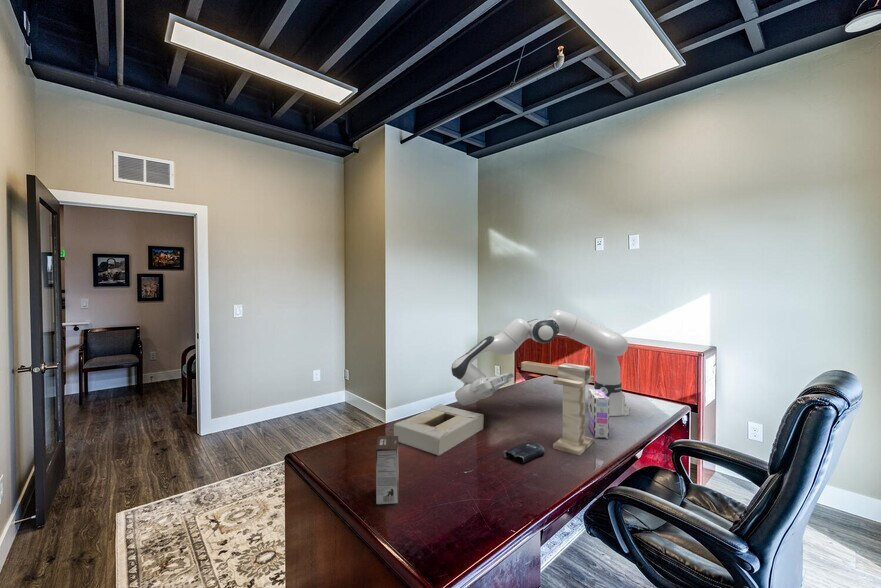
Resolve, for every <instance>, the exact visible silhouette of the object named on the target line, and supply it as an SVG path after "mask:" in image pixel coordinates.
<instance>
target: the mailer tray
mask: <svg viewBox="0 0 881 588" xmlns="http://www.w3.org/2000/svg"><path fill="white" fill-rule="evenodd" d="M558 366H559V365H554V364H549V363H548V364H547V363H542V362H541V363H540V362H534V361H526V360H525V361H521V362H520V371H526V372H532V373H537V374H543V375H551V376H557V377H558Z"/></svg>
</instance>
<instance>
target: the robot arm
mask: <svg viewBox="0 0 881 588" xmlns="http://www.w3.org/2000/svg"><path fill="white" fill-rule="evenodd" d="M558 334H561V335H562V336H565V337H567V338H569V339H571V340H572V339H573V340H574V341H576V342H578V343H581V344H583V345H586V346H587V347H589V348H592V353H593V358H594V364H595V365H594V368H595V369H594V370H595V372H594V374H595V375H594V380H593V381H594V384H593V385H594V386H593V389H600V390H602V391H603V392H604V393H605V394H606V395H607V397H608V398H609V417H619V416H624V417H626V416H630V415H629V414H630V410H631V405H630V404H628V403H626V395H625V394H624V392H623V391H622V390H623V389H622V388H623V387H622V385H623V382H622V381H621V365H620V363H619V359H618V357H621V356H624V354H625V353H626V352H627V351H628V349H629V343H628V341H627V339H626V338H625V337H624V336H623V335H621V334H620V333H618V332H617V331H613V330H611V329H609V328H606V327H604V326H602V325H600V324H597V323H594V322H592V321H590V320H588V319H585V318H583V317H581V316H579V315H577V314H574V313H571V312H568V311H566V310H561V309H555V310H553V311H552V312H551V313H550V315H549V316H548V318H547V319H538V318H535V319H531V320H529V321H527V320H525V319H523V318H520V317H517V318H515V319H513V320H512V321H510V323H509V324H506V326H505V327H504V328H503V329H502V330H501V331H500V332H499V333H497V334H496V335H493V336H491V335H489V336H487V337H485V338H484V339H483V340H481V341H480V342H478V343H477V344H476V345H474V346H473V347H472V348H471V349H470V350H469V351H467V352H466V353H464V354H463V355H461V356H459V357H458V358H457V359H456V360H454V362H453V363H452V364H451V375H452V376H453V377H455V379H457V380H459V381H460V382H462V383H463V385H462V386H461V387H460V388H459V389H457V390H456V391H455V393H454V396H455V399H456V401H457V402H458V403H459V404H460V405H461V406H468V405H472V404H474V403H477V402H479V401H481V400H483V399H486V398H488V397H491V396H493V394H494V393H495V392H496V391H498V390H499V389H500V388H501V387H502V386H505V385H506V384H508V383H509V382H511V380H512V378H514V377H515V375H514V373H513V372H511V373H508V372H506V373H503V374H499V375H496V376H486V374H485V373H484V372H483V371H481V370H480V369H479V368H478V367H476V366H475V365H474V364H473V362H474V361H475V360H478V358H480V356H483V354H485V353H487V352H493V353H496V354H498V355H505V356H508V355H512V354H513V353H514V352H516V350H518V349H519V348H520V346H521V345H522V344H523V343H524V342H525V341H526V340H528V339H531V340H533V341H535V342H537V343H540V344H548V343H551V342H552V341H553V340H554V339H555V337H556V336H557V335H558Z"/></svg>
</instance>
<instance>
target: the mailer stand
mask: <svg viewBox="0 0 881 588" xmlns="http://www.w3.org/2000/svg"><path fill="white" fill-rule="evenodd" d="M557 366H558V376H557V377H555V378H553V381H552V383H553V385H558V386H562V436H561V437H560V438H559V439H558V440H556V441H555V442H554V443H553V444H552V448H553V449H555V450H558V451H562V452H566V453H569V454H572V455H576V456H581V455H582V454H583V453H584V452H585V451H586V450H587V449H588V448H589V447H590V446H591V445H592V444H593V443H594V442H595V440H594V437H593V438H592V437H589V436H586V386H587V385H588V384H590V383H591V382H593V381H595V375H591V374H592V373H591V372H592V371H591V370H592V369H591V368H592V367H591V366H590V365H584V364H583V365H582V364H575V363H568V362H564V363H562V364H560V365H559V364H558V365H557Z"/></svg>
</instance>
